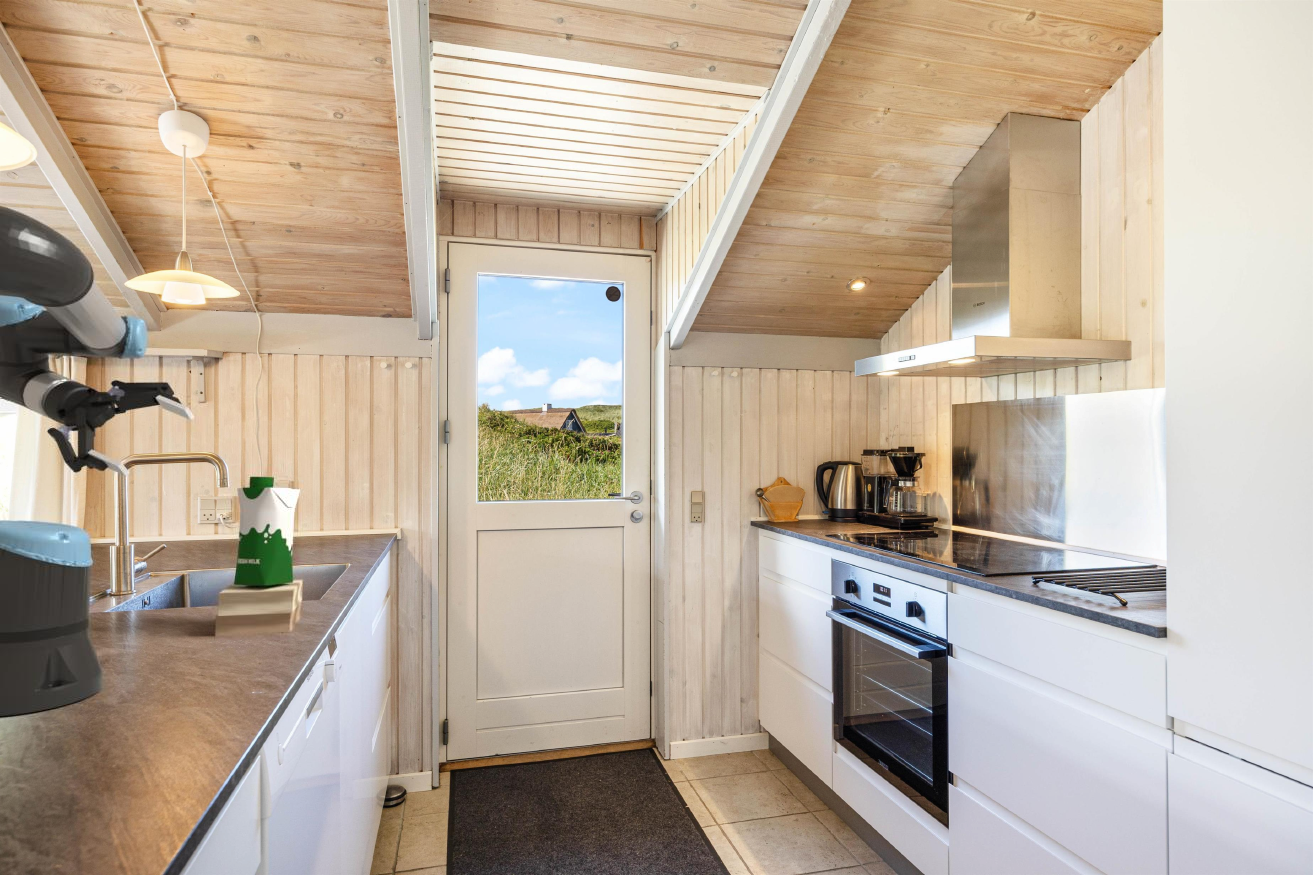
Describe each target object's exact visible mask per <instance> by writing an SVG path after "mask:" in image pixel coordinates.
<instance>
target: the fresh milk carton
mask: <svg viewBox="0 0 1313 875" xmlns="http://www.w3.org/2000/svg"><path fill="white" fill-rule="evenodd" d="M274 481H275V477H274V476H250V477H249V486H247V487H237V497H238V503H239V510H240V511H239V513H240V514H239V529H238V544H237V546H238V548H237V559H236V566H235V574H234V585H260V586H267V585H276V584H284V583H292V582H293V580H294V571H293V570H294V569H293V567H294V566H293V546H294V543H293V542H294V529H295V528H294V526H295V510H296V508H297V503H298V500H299V496H300V492H301V489H296V488H295V489H293V488H290V487H274V486H275V484H274V483H275V482H274Z"/></svg>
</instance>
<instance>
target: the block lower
mask: <svg viewBox="0 0 1313 875" xmlns="http://www.w3.org/2000/svg"><path fill="white" fill-rule="evenodd" d="M301 617H302V618H303V600H302V601H301V602H300V603H299V605H298V606H297V607H296V609H295V610H294V611H293V613H274V614H253V615H231V616H218V614H217V615H215V637H230V636H250V635H251V636H252V635H253V634H255V635H273V634H275V633H276V634H282V633H281V632H290V631H291V632H292V631H293V630H294V628H295V627H296V626H297V624H298V623H299V622H300V621H299V619H300V618H301ZM302 618H301V619H302ZM301 619H300V620H301ZM298 621H299V622H298ZM297 622H298V623H297ZM296 623H297V624H296ZM295 625H296V626H295ZM294 626H295V627H294ZM293 627H294V628H293ZM291 632H290V633H291ZM276 634H275V635H276ZM253 636H254V635H253Z"/></svg>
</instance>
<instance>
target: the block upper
mask: <svg viewBox="0 0 1313 875" xmlns="http://www.w3.org/2000/svg"><path fill="white" fill-rule="evenodd" d="M303 582H304V579H303V578H302V579H293V582H292V583H284V584H276V585H267V586H260V585H234V582H232V583H231V584H230V585H228V586H226V587H225V588H224V589H223V590H222V591H220V592H219V593H218V602H217V603H218V605H217V615H218V616H231V615H253V614H274V613H293V611H294V610H295V609H296V607H297V606H298V605H299V603H300V602H301V601H302V602H303V589H304V588H303V584H304V583H303Z"/></svg>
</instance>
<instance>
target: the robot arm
mask: <svg viewBox="0 0 1313 875" xmlns="http://www.w3.org/2000/svg"><path fill="white" fill-rule="evenodd" d="M146 325H147V324H146V323H145V321H144V320H143V319H142V318H140V317H132V316H129V315H124V316H122V315H120V314H119V312H118V311H117V310H116V308H115V307H114V305H113V304H112V303H111V302H110V300H109V299H108V298H107V297H106V294H104V292H103V291H102V289H101V288H100V287H99V286H98V284H97V283H96V281H95V272H94V269H93V266H92V264H91V262H90V260H89V259H88V258H87V257H86V254H84V253H83V251H82V250H81V249H80V248H79V247H77V245H75V244H74V242H72V241H71V240H69V239H68V238H67V237H66V236H64V235H63V234H61V233H60V232H58V231H57V230H56V229H53V228H51V227H50V226H48V225H47V224H45V223H43V222H42V221H39V220H37V219H36V218H34V217H31V216H29V215H27V214H24V213H22V212H20V211H18V210H15V209H13V208H9V207H6V206H2V205H0V398H1V399H2V400H4V401H8V402H11V403H14V404H16V405H19V406H21V407H24V408H26V409H29V410H30V411H33V412H34V413H37V414H39V415H41V416H44V417H47V418H48V419H50V420H53V421H54V422H57V423H58V424H61V426H60V427H58V428H56V427H51V428H48V429H47V434H48V435H49V436H50V437H51V438H52V439H53V440H54V441H55V442H56V445H57V447H58V449H59V451H60V453H61V454H60V455H61V456H62V459H63V461H64V463H65V464H66V465H67V466H68V467H69V468H70V470H72V472H73V473H79V472H81V471H82V468H83V467H87V468H88V469H90V470H93V469H95V470H98V471H100V472H105V471H106V469H109V470H111V471H114V472H115V473H118V474H120V475H123V476H125V477H127V476H129V475H130V473H131V472H130V471H129V470H128V468H126V466H125V465H124V464H123V463H122V462H121V461H119V460H117V459H113V458H112V457H110V456H107V455H105V454H103V453H101V452H99V451H97V450H95V437H96V429H98V428H101V427H103V426H104V425H105V424H106V423H107V422H108V421H110V420H111V419H114V417H115V416H116V415H120V414H126V412H127V411H133V410H137V409H145V408H149V407H155V406H161V408H162V409H163V410H166V411H168V412H171V413H174V414H176V415H178V416H180V417H183V418H185V419H186V420H190V421H192V420H193V419H195V415H194V414H193V413H192V411H191V410H190V408H189V406H187V405H184V404H183V403H182V402H181V401H180V399H179V398H178V397H176V396H174V395H175V392H174V391H175V390H173V389H172V387H171V385H170V383H169V382H166V381H165V382H161V381H160V382H158V381H157V382H156V381H155V382H152V381H151V382H144V381H143V382H137V381H135V382H124V381H121V380H117V379H115V380H113V381H111V382H110V385H111V386H112V387H110V389H108V391H98V390H97V389H95V388H92V387H90V386H88V385H86V384H83V383H82V382H80V381H79V382H78V381H76V380H74V379H71V378H69V377H67V376H64V375H61V374H60V373H57V372H55V371H52V370H51V369H50V362H49V361H50V360H49V359H50V355H64V356H65V355H66V356H81V357H82V356H85V357H96V358H113V359H114V358H115V359H119V360H123V359H142V358H143V357H144V356H145V354H146V352H147V346H148V331H147V330H148V329H147V326H146ZM49 354H50V355H49ZM70 432H77V454H76V452H75V450H74V448H73V445H72V443H71V442H70V441H69V440H70V439H71V438H70ZM91 547H92V545H91V537H90V535H89V533H88V532H87V531H86V530H85V529H83V528H80V527H78V526H75V525H71V524H70V525H69V524H65V523H57V522H49V521H47V522H46V521H39V520H38V521H36V520H35V521H34V520H7V519H0V717H4V716H13V715H22V714H29V713H35V712H40V711H45V710H46V711H47V710H49V709H54V708H57V707H62V706H65V705H69V704H73V703H75V702H79V701H81V700H84V699H87V698H89V697H91V696H93V695H95V694H97V693H98V692H99V691H101V690H102V688H103V687H104V686H103V685H104V670H103V666H102V664H101V661H100V659H99V657H98V654H97V651H96V648H95V646H94V643H93V641H92V638H91V635H90V631H89V630H90V627H89V626H90V605H91V604H90V602H91V581H92V580H91V578H92V577H91V576H92V574H91V573H92V565H93V564H94V563H93V562H94V561H93V558H92V548H91Z"/></svg>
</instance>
